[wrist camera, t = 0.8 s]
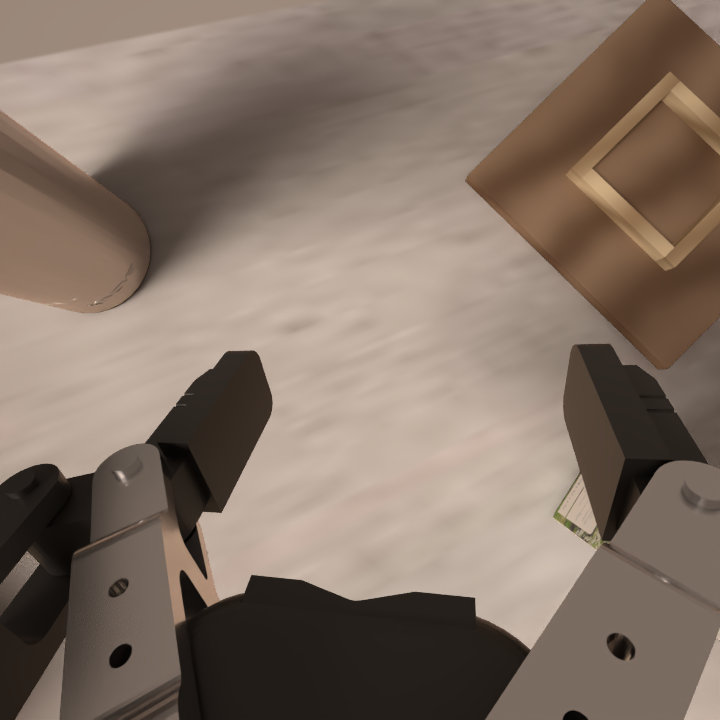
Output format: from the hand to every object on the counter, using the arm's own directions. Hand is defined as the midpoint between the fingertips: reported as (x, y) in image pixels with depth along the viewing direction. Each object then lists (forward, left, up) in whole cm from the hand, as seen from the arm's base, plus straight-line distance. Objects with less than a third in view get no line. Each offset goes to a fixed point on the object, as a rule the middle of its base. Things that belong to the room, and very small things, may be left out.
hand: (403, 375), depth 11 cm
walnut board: (+4, +25, -21) cm, 33 cm away
